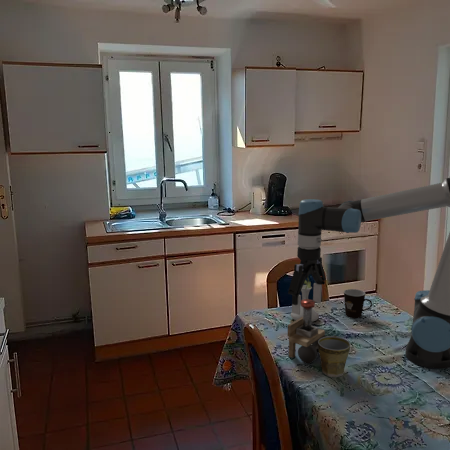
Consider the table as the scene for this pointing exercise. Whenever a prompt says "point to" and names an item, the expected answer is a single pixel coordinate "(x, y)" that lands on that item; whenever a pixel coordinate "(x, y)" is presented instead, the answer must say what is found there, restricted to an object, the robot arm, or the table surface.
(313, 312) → the flower in vase
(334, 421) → the table surface
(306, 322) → the pin
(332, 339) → the ceramic cup
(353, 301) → the coffee mug
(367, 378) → the table surface
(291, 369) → the table surface
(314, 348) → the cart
